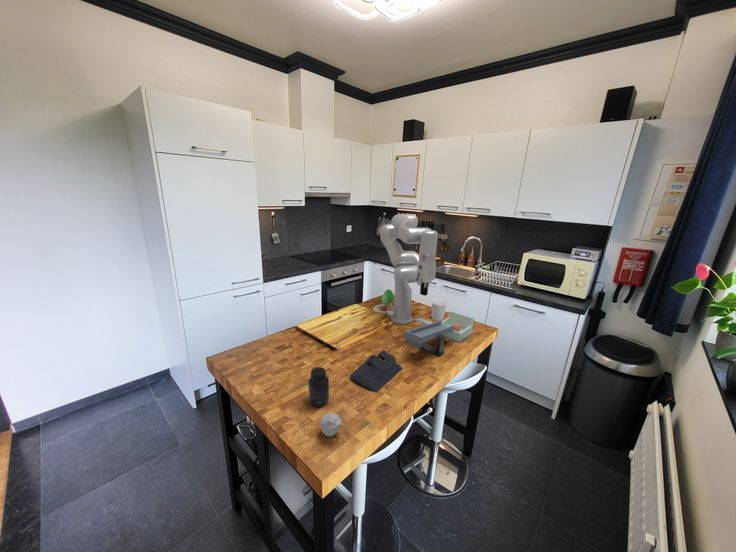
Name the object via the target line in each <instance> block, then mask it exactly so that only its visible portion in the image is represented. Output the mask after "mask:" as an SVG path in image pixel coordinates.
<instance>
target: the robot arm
mask: <svg viewBox="0 0 736 552" xmlns="http://www.w3.org/2000/svg"><path fill="white" fill-rule="evenodd" d="M418 225H419V219H418V216H416V215H415V214H414V213H399V214H395V215H394V216H393V217H392V218H391V223H386V224H384V225H382V226H381V227H380V229H379V237H380V241H381V243H382V245H383V246H384V247H385V250H386V251H387V253H388V256H389V259H390V261H391V264H392V266H393V267H394V268H395V269H394V270H393V278H394V280H393V281H394V294H393V300H394V301H393V307H394V308H393V309H394V310H393V309H392V310H391V311H387V310H385V311H386V313H385V314H386V316H390V317H389V318H390V320H391V322H393V323H395V324H400V325H407V324H410V323H413V317H412V316H411V310H412V309H411V308H412V298H413V297H412V293H413V291H412V288H411V286H410V285H409V284H414V283H416V284H417V285H418V286H420V288H419V289H420V290H419V295H422V296H425V297H426V296H427V295H428V293H429V292H428V291H429V287H430V283H431V282H433V281H434V280H436V274H437V261H436V256H437V249H438V248H437V247H438V237H439V236H438V235H439V233H438V231H436V230H433V229H431V228H430V227H418ZM396 239H400V240H401V241H402V242H403V243H405V244H407V245H413V244H417V245H418V244H419V250H418V251H419V252H417V251H415V250H404V249H403V248H402V247H403V246H402V245H401V244H400V243H399V242H398V241H397V240H396Z"/></svg>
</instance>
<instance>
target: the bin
mask: <svg viewBox="0 0 736 552" xmlns="http://www.w3.org/2000/svg"><path fill="white" fill-rule="evenodd" d="M474 322H475V318H474V317H471V316H468V315H465V314H462V313H459V312H456V311H452V310H449V312H448V317H447V318H445V319H443V320H442V323H441V325H444V326H446V327H450V326H452V325H454V324H455V323H458V324H459V325H460V326H461V328H460V330H459V331H455V330H454V331H453V332H450V333H448V334H445V335H444V339H448V340H451V341H453V342H455V343H457V344H458V343H459V344H460V343H462V341H464V340H466V339H467V338H468V337H470V336H472V334H473V329H474V328H473V327H474Z"/></svg>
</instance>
